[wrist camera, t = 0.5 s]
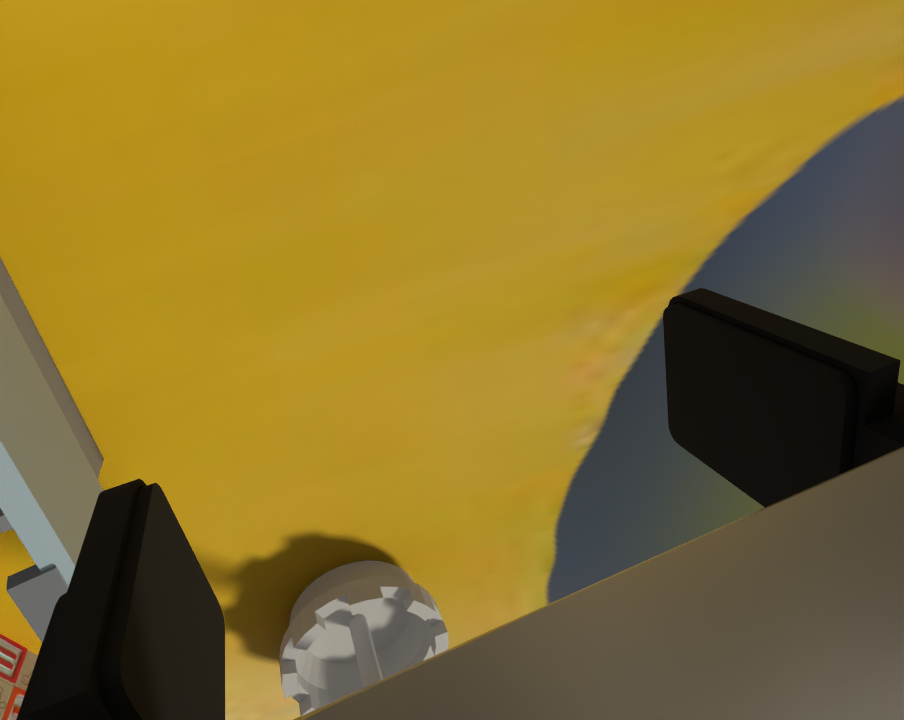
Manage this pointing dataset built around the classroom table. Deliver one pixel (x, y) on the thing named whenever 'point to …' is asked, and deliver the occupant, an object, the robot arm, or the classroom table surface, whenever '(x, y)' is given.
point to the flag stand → (356, 632)
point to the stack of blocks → (13, 676)
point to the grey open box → (46, 376)
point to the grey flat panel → (40, 479)
